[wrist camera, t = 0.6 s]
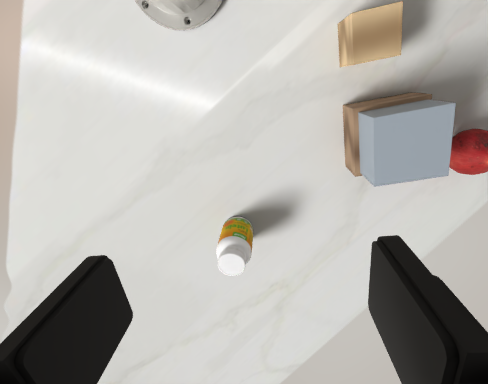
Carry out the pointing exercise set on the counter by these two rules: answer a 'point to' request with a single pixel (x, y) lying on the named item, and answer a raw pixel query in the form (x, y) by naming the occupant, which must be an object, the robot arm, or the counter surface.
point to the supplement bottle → (234, 246)
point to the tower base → (353, 124)
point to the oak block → (370, 35)
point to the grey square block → (406, 142)
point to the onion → (470, 152)
